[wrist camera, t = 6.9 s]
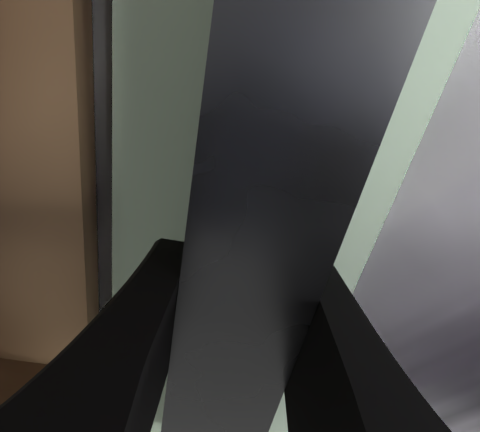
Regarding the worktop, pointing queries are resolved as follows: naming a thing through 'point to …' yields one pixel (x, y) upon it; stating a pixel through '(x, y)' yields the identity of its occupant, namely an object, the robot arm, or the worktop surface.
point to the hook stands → (45, 184)
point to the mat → (187, 120)
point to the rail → (276, 190)
